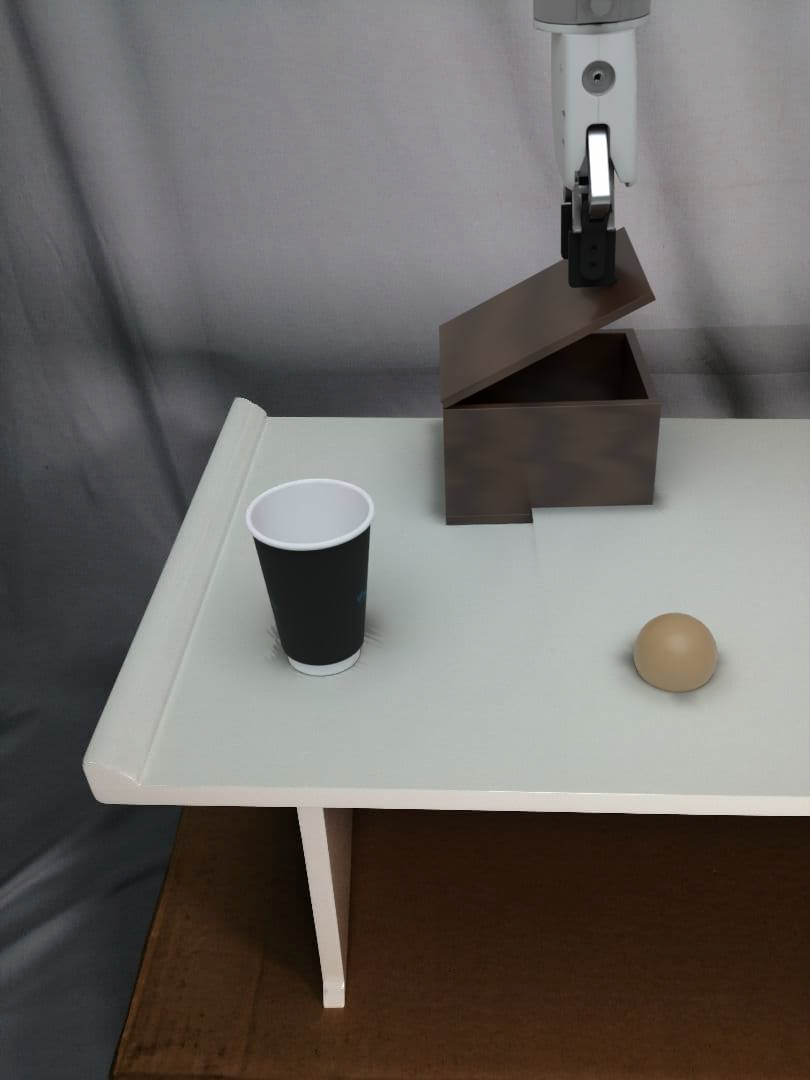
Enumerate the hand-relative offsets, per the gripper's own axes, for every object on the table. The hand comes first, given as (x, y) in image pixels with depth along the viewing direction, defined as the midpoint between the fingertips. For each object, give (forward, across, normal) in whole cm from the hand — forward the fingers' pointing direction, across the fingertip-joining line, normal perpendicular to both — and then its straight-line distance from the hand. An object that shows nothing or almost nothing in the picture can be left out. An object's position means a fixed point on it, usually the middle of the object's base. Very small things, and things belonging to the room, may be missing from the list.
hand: (586, 268), depth 85 cm
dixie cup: (+17, -22, +19) cm, 34 cm away
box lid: (+4, 0, +3) cm, 5 cm away
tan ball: (+18, -26, -3) cm, 31 cm away
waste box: (+17, 0, +3) cm, 18 cm away
